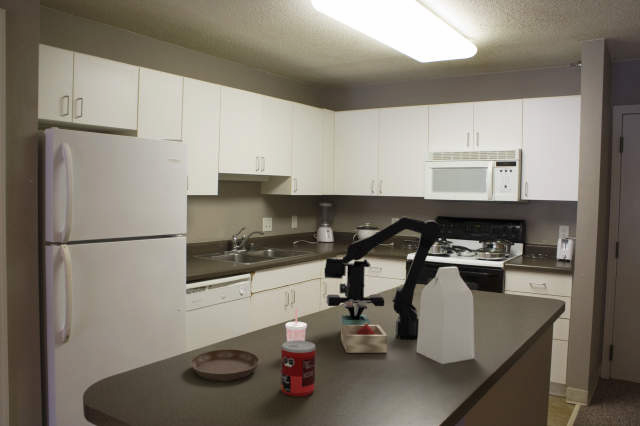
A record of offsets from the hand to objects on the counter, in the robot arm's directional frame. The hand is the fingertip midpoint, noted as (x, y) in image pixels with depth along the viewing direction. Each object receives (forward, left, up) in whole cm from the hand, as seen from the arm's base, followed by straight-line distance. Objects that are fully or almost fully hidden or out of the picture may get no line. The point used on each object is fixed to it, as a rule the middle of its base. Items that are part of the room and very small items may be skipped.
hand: (354, 325), depth 174 cm
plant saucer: (+40, +35, -3) cm, 53 cm away
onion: (0, +18, -3) cm, 18 cm away
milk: (-23, +24, -3) cm, 33 cm away
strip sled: (0, +9, -2) cm, 10 cm away
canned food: (+22, +49, -3) cm, 53 cm away
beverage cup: (+21, +23, -3) cm, 31 cm away
